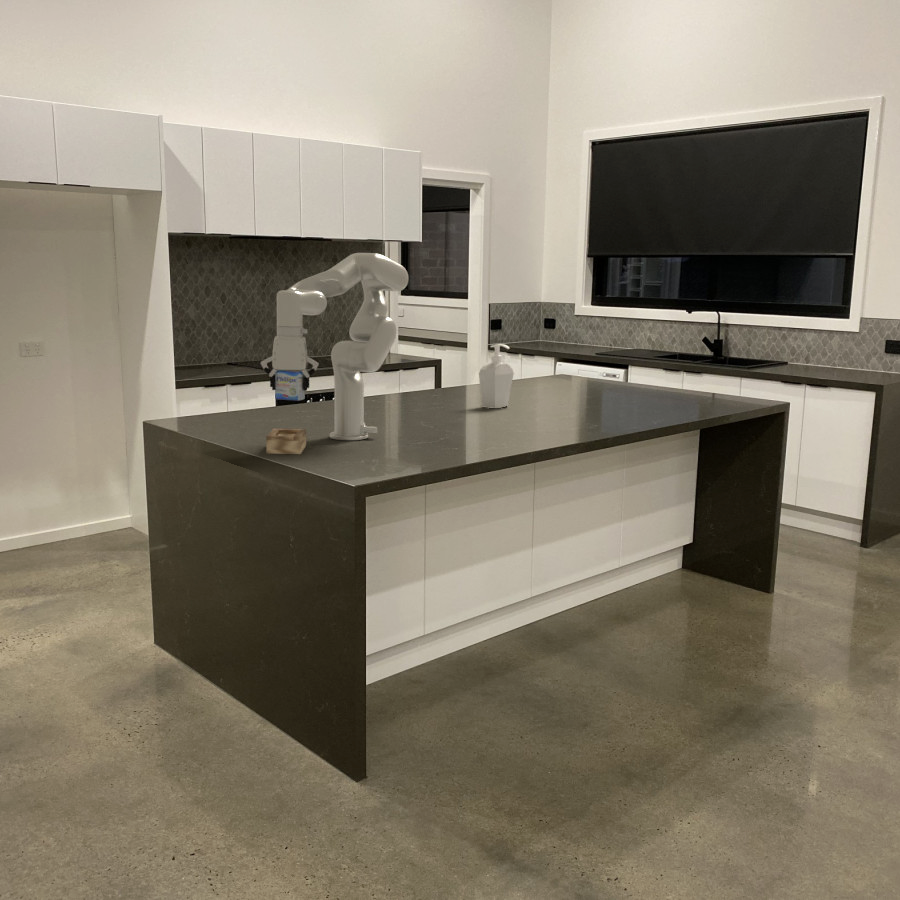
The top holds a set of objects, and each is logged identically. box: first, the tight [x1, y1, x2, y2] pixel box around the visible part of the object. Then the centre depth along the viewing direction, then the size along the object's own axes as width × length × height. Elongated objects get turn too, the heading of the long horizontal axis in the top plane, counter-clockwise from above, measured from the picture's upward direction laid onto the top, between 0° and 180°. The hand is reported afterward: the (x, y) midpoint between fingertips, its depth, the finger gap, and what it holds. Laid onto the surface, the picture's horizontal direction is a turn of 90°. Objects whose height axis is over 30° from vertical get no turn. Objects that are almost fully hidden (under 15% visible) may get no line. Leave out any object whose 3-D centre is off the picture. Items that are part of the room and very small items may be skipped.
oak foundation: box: [265, 428, 307, 455], centre depth 276 cm, size 10×13×5 cm
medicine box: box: [274, 370, 306, 401], centre depth 272 cm, size 8×4×9 cm, turn 72°
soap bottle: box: [478, 343, 514, 408], centre depth 368 cm, size 12×10×26 cm
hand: (289, 389), depth 272 cm, fingers closed on medicine box, 9 cm apart
